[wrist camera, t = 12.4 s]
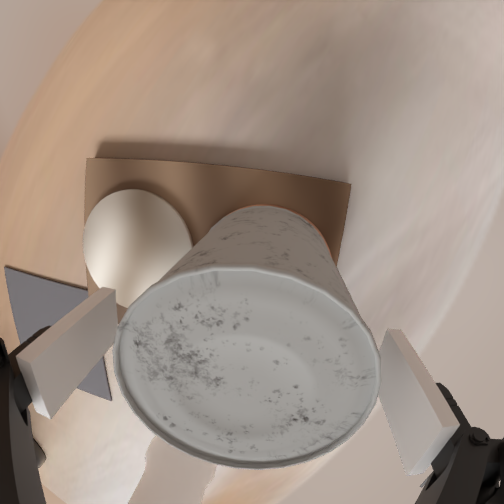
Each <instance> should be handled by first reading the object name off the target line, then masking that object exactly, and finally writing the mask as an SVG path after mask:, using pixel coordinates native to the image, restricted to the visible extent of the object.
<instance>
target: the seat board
mask: <svg viewBox="0 0 504 504" xmlns="http://www.w3.org/2000/svg"><path fill="white" fill-rule="evenodd" d="M350 190H351V184H349V183H344V182H338V181H332V180H327V179H321V178H315V177H308V176H302V175H295V174H289V173H282V172H274V171H267V170H259V169H251V168H242V167H233V166H224V165H214V164H203V163H191V162H178V161H163V160H144V159H118V158H87V161H86V177H85V212H84V222H85V228H84V233H83V253H84V258H85V262H86V273H87V286H88V297H90V296H91V295H92V294H93V293H95V292H96V291H97V290H99V289H100V288H101V287H107V288H111V289H116V306H117V319H118V324H119V323H120V321H121V320H122V318H123V316H124V314H125V313H126V311H127V309H128V307H129V306H130V305H131V304H132V303H133V302H134V301H135V300H136V299H137V298H138V297H139V296H140V295H141V294H142V293H143V292H145V291H146V290H147V289H148V288H149V287H150V286H151V285H152V284H154V283H156V282H158V281H159V280H160V279H161V278H162V277H163V276H164V275H165V274H166V273H167V272H168V271H169V270H170V269H171V268H172V267H173V266H174V265H175V264H176V263H177V262H178V261H179V260H180V259H181V258H182V257H183V256H184V255H185V254H187V253H188V252H189V251H190V250H191V249H192V248H193V247H194V246H195V245H196V244H197V243H198V242H199V241H200V240H201V239H202V238H203V237H204V236H205V235H206V234H207V233H208V232H209V231H210V229H211V228H212V227H213V226H214V225H215V224H216V223H218V222H219V221H220V220H221V219H222V218H223V217H225V216H227V215H229V214H231V213H233V212H235V211H237V210H240V209H243V208H247V207H251V206H273V207H278V208H283V209H287V210H289V211H291V212H293V213H295V214H297V215H299V216H301V217H302V218H304V219H305V220H306V221H308V222H309V223H310V224H311V225H313V226H314V228H315V229H316V230H317V231H318V233H319V234H320V235H321V237H322V238H323V240H324V242H325V244H326V246H327V248H328V250H329V253H330V256H331V258H332V260H333V262H334V264H335V265H336V266H337V261H338V256H339V251H340V246H341V241H342V236H343V231H344V225H345V220H346V214H347V208H348V202H349V196H350Z"/></svg>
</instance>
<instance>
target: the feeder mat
mask: <svg viewBox="0 0 504 504" xmlns="http://www.w3.org/2000/svg"><path fill="white" fill-rule="evenodd" d="M4 269H5V276H6V282H7V288H8V293H9V298H10V303H11V308H12V313H13V317H14V321H15V325H16V329H17V333H18V337H19V340H20V344H22V343H23V342H24V341H26V340H27V339H28V338H29V337H32V335H33V334H34V333H36V332H37V331H38V330H39V329H42V328H44V327H47V326H49V325H50V326H53V325H54V324H55V323H56V322H58V321H59V320H60V319H61V318H63V317H64V316H65V315H66V314H68V313H69V312H70V311H71V310H73V309H74V308H75V307H77V306H78V305H79V304H80V303H82V302H83V301H84V300H86V299H87V298H88V290H85V289H81V288H77V287H74V286H70V285H66V284H62V283H59V282H55V281H51V280H48V279H44V278H41V277H37V276H34V275H31V274H27V273H24V272H21V271H17V270H14V269H11V268H8V267H4ZM77 388H78V389H80V390H83V391H85V392H88V393H90V394H93V395H96V396H98V397H101V398H104V399H107V400H109V401H112V398H111V394H110V389H109V384H108V379H107V374H106V369H105V363H104V357H103V356H102V358H101V359H100V360H99V361H98V362H97V364H96V365H95V366H94V367H93V368H92V370H91V371H90V372H89V373H88V374H87V376H86V377H85V378H84V379H83V380H82V382H81V383H80V384H79V385H78V386H77Z"/></svg>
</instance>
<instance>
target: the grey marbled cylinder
mask: <svg viewBox="0 0 504 504" xmlns="http://www.w3.org/2000/svg"><path fill="white" fill-rule="evenodd" d="M113 363H114V373H115V376H116V379H117V382H118V385H119V387H120V390H121V393H122V395H123V396H124V398H125V400H126V401H127V403H128V405H129V406H130V408H131V409H132V411H133V413H134V414H135V415H136V416H137V417H138V418H139V419H140V420H141V421H142V422H143V424H144V425H145V426H146V427H147V428H148V429H149V430H150V431H152V432H153V433H154V434H155V435H157V436H158V437H159V438H161V439H162V440H163V441H165V442H166V443H167V444H169V445H171V446H173V447H174V448H176V449H178V450H180V451H182V452H184V453H186V454H187V455H190V456H192V457H195V458H198V459H200V460H203V461H206V462H209V463H212V464H216V465H221V466H226V467H231V468H237V469H252V470H264V469H276V468H285V467H289V466H293V465H297V464H301V463H305V462H308V461H311V460H313V459H316V458H318V457H320V456H322V455H325V454H327V453H329V452H331V451H332V450H334V449H335V448H337V447H338V446H340V445H341V444H343V443H344V442H346V441H347V440H348V439H349V438H350V437H351V436H352V435H353V434H354V433H355V432H356V431H357V430H358V429H359V428H360V427H361V426H362V425H363V424H364V423H365V421H366V419H367V418H368V416H369V414H370V413H371V411H372V409H373V408H374V406H375V404H376V401H377V397H378V393H379V390H380V386H381V382H382V378H381V357H380V354H379V351H378V349H377V346H376V343H375V340H374V338H373V335H372V332H371V330H370V329H369V328H368V326H367V325H366V324H365V322H364V321H363V320H362V318H361V316H360V314H359V312H358V310H357V308H356V306H355V304H354V302H353V300H352V297H351V295H350V293H349V291H348V289H347V287H346V285H345V283H344V281H343V279H342V277H341V275H340V273H339V271H338V269H337V267H336V265H335V264H334V262H333V260H332V258H331V256H330V253H329V250H328V248H327V246H326V244H325V242H324V240H323V238H322V237H321V235H320V234H319V233H318V231H317V230H316V229H315V228H314V226H313V225H311V224H310V223H309V222H308V221H306V220H305V219H304V218H302V217H301V216H299V215H297V214H295V213H293V212H291V211H289V210H287V209H283V208H278V207H273V206H251V207H247V208H243V209H240V210H237V211H235V212H233V213H231V214H229V215H227V216H225V217H223V218H222V219H221V220H220V221H219V222H218V223H216V224H215V225H214V226H213V227H212V228H211V229H210V231H209V232H208V233H207V234H206V235H205V236H204V237H203V238H202V239H201V240H200V241H199V242H198V243H197V244H196V245H195V246H194V247H193V248H192V249H191V250H190V251H189V252H188V253H187V254H185V255H184V256H183V257H182V258H181V259H180V260H179V261H178V262H177V263H176V264H175V265H174V266H173V267H172V268H171V269H170V270H169V271H168V272H167V273H166V274H165V275H164V276H163V277H162V278H161V279H160V280H159V281H158V282H156V283H154V284H152V285H151V286H150V287H149V288H148V289H147V290H146V291H145V292H143V293H142V294H141V295H140V296H139V297H138V298H137V299H136V300H135V301H134V302H133V303H132V304H131V305H130V306H129V307H128V309H127V311H126V313H125V314H124V316H123V318H122V320H121V321H120V323H119V325H118V327H117V331H116V336H115V341H114V346H113Z"/></svg>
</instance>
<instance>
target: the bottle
mask: <svg viewBox="0 0 504 504" xmlns="http://www.w3.org/2000/svg"><path fill="white" fill-rule="evenodd" d="M216 467H217V465H216V464H212V463H209V462H206V461H203V460H200V459H198V458H195V457H192V456H190V455H187V454H186V453H184V452H182V451H180V450H178V449H176V448H174V447H173V446H171V445H169V444H167V443H166V442H165V441H163V440H162V439H161V438H159V437H158V436H157V435H155V437H154V438H153V439H152V441H151V443H150V445H149V447H148V449H147V452H146V454H145V471H144V473H143V475H142V478H141V480H140V482H139V484H138V485H137V487H136V489H135V491H134V493H133V495H132V497H131V499H130V501H129V502H128V504H202V499H203V495H204V491H205V489H206V488H207V486H208V484H209V483H210V482H211V481H212V480H213V478H214V475H215V471H216Z"/></svg>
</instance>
